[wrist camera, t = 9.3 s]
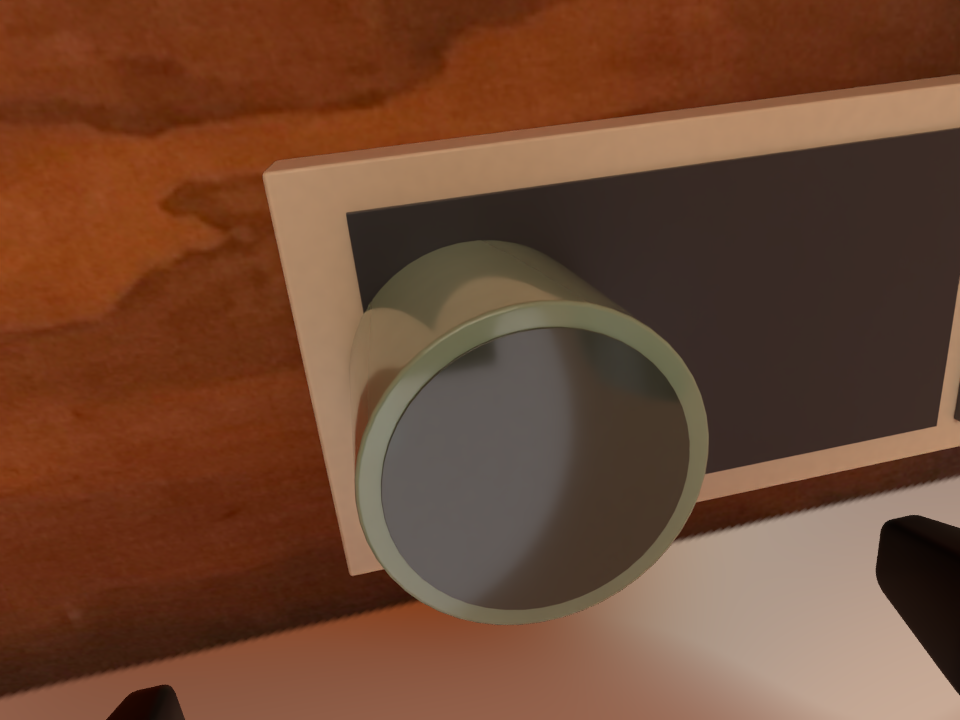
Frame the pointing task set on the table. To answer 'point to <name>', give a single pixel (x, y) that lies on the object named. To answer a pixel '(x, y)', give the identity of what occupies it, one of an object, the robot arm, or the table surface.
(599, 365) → the cup
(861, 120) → the copier
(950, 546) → the robot arm
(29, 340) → the table surface
